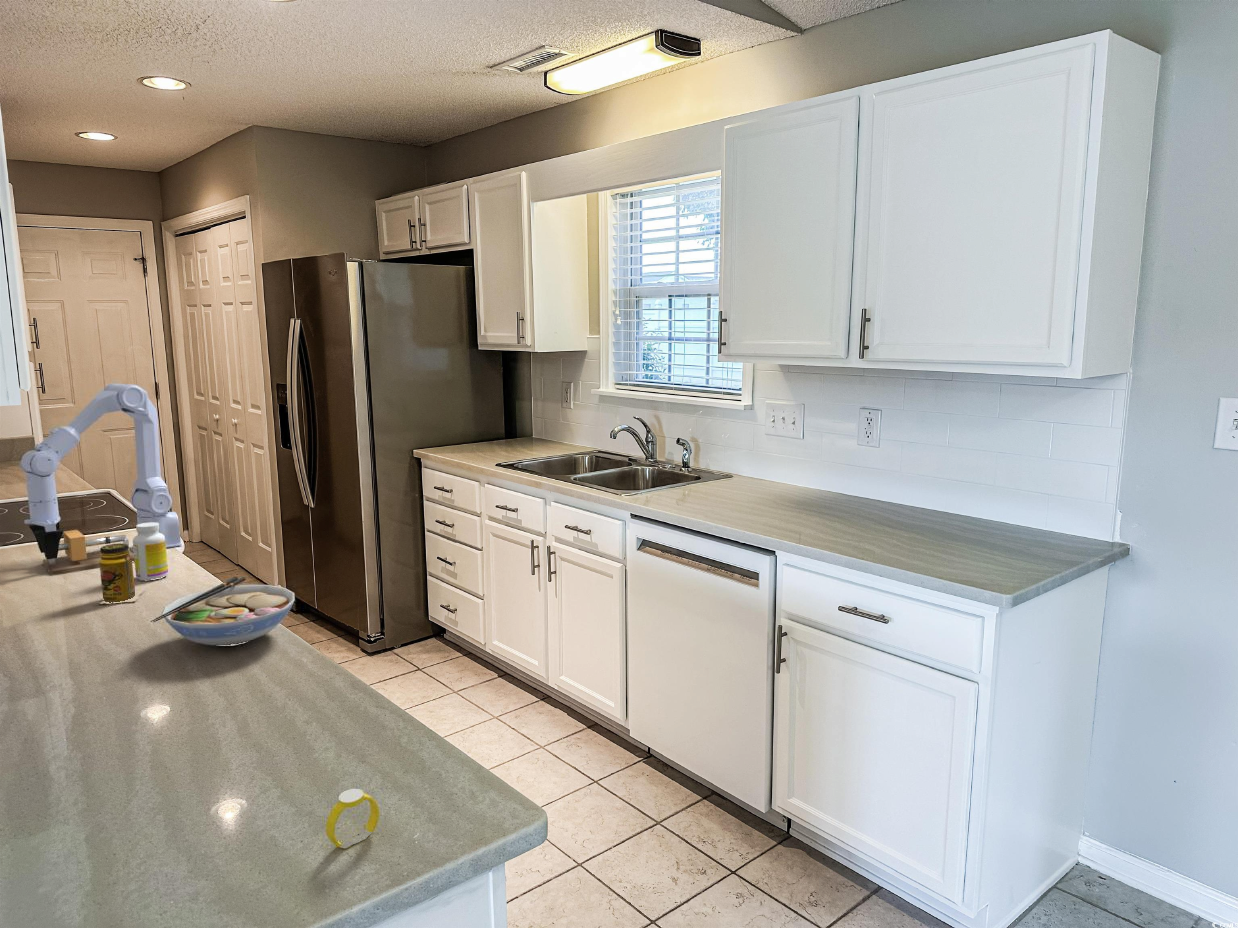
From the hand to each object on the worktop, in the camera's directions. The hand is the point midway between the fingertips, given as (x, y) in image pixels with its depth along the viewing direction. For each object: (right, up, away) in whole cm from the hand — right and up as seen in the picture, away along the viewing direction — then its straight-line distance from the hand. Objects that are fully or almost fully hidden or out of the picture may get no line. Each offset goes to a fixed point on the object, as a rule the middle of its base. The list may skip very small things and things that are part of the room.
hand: (48, 555), depth 203 cm
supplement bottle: (+28, -5, -6) cm, 29 cm away
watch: (+107, -22, -106) cm, 152 cm away
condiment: (+30, -7, -21) cm, 37 cm away
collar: (+4, -1, +4) cm, 6 cm away
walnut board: (+6, -2, +6) cm, 9 cm away
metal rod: (+6, -2, +6) cm, 9 cm away
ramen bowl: (+65, -11, -44) cm, 80 cm away
